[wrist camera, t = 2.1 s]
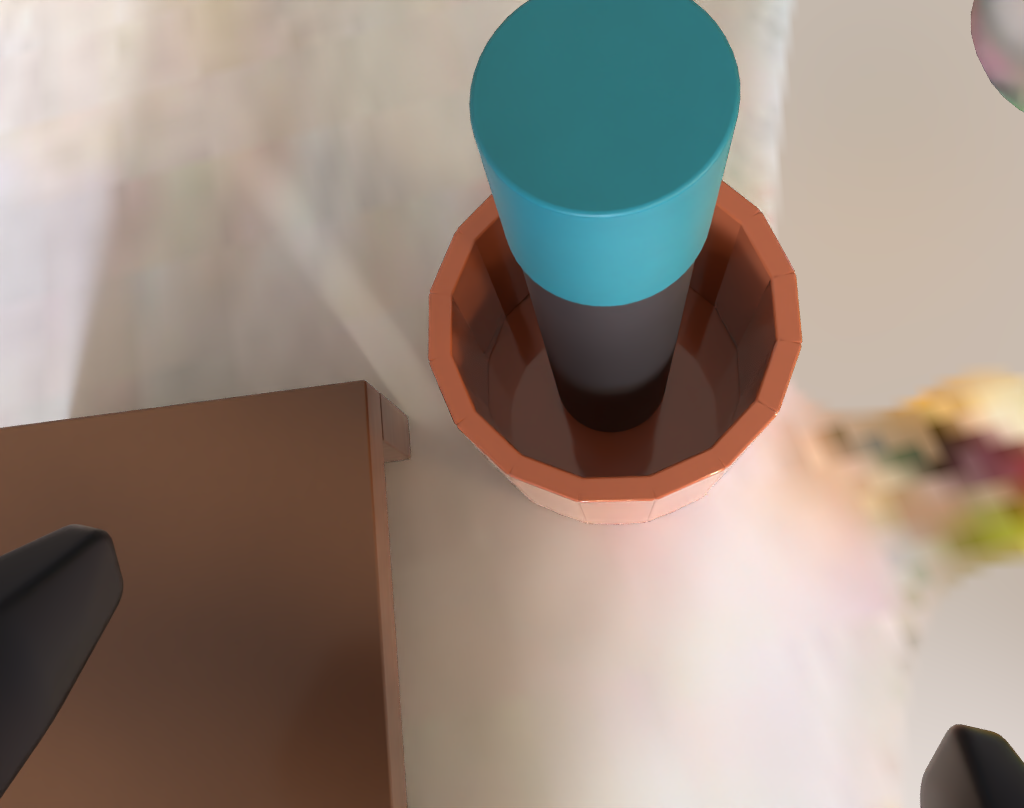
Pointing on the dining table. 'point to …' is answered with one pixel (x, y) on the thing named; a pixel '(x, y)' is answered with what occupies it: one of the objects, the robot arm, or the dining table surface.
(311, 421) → the shelf
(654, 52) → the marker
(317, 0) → the dining table surface
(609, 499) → the pen cup
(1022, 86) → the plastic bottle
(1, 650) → the robot arm
